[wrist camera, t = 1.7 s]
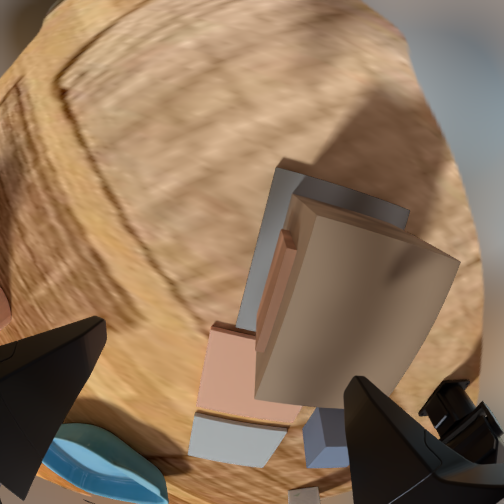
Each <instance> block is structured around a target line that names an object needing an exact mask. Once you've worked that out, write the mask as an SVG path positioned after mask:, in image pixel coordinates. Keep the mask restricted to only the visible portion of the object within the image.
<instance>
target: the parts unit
mask: <svg viewBox="0 0 504 504" xmlns="http://www.w3.org/2000/svg"><path fill="white" fill-rule="evenodd" d="M409 213H410V210H408V209H405V208H403V207H400V206H397V205H395V204H392V203H389V202H387V201H384V200H381V199H378V198H376V197H373V196H370V195H367V194H364V193H361V192H358V191H355V190H352V189H349V188H346V187H343V186H340V185H337V184H334V183H330V182H327V181H324V180H320V179H317V178H314V177H310V176H307V175H303V174H300V173H296V172H292V171H289V170H285V169H281V168H277V167H276V169H275V173H274V177H273V181H272V185H271V189H270V193H269V196H268V200H267V204H266V208H265V212H264V216H263V220H262V224H261V228H260V232H259V236H258V240H257V244H256V248H255V252H254V256H253V259H252V263H251V267H250V271H249V275H248V279H247V283H246V287H245V291H244V295H243V299H242V303H241V306H240V310H239V314H238V318H237V322H236V327H237V328H241V329H246V330H250V331H255V332H256V341H255V351H256V370H255V393H254V399H256V400H262V401H268V402H275V403H282V404H290V405H299V406H309V407H322V408H338V409H344V401H343V394H344V391H345V389H346V387H347V386H348V384H349V382H350V381H351V379H352V378H353V377H354V376H356V375H358V376H365V377H366V378H367V379H369V380H370V381H371V382H372V383H373V384H374V385H375V386H376V387H378V388H379V389H380V390H381V391H382V392H383V393H384V394H386V395H387V396H388V397H389V396H390V394H391V393H392V392H393V390H394V389H395V387H396V386H397V384H398V383H399V381H400V380H401V378H402V377H403V375H404V374H405V372H406V371H407V369H408V368H409V366H410V364H411V363H412V361H413V360H414V358H415V356H416V355H417V353H418V351H419V350H420V348H421V346H422V344H423V343H424V341H425V339H426V337H427V335H428V333H429V332H430V330H431V328H432V326H433V324H434V322H435V320H436V318H437V316H438V314H439V312H440V310H441V308H442V306H443V304H444V301H445V299H446V297H447V295H448V292H449V290H450V288H451V285H452V283H453V281H454V278H455V276H456V273H457V271H458V268H459V265H460V263H461V262H460V261H458V260H457V259H455V258H453V257H452V256H450V255H448V254H446V253H445V252H443V251H441V250H439V249H438V248H436V247H434V246H432V245H431V244H429V243H427V242H425V241H423V240H421V239H420V238H418V237H416V236H414V235H412V234H410V233H408V232H406V231H404V229H405V226H406V223H407V219H408V216H409Z"/></svg>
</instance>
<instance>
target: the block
mask: <svg viewBox="0 0 504 504" xmlns="http://www.w3.org/2000/svg"><path fill="white" fill-rule="evenodd" d="M302 430H303V439H304V448H305V457H306V466H307V468H337V467H347V466H348V465H349V456H348V449H347V442H346V435H345V425H344V409H338V408H322V407H316V409H315V411H314V412H313V414H312V415H311V417H310V418H309V420H308V421H307V423H306V424H305V426H304V427H303V429H302Z"/></svg>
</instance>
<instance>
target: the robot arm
mask: <svg viewBox="0 0 504 504" xmlns="http://www.w3.org/2000/svg"><path fill="white" fill-rule="evenodd" d="M106 340H107V332H106V321H105V320H104V319H103V318H100V317H98V316H92V317H89V318H86V319H83V320H80V321H77V322H74V323H71V324H68V325H65V326H62V327H59V328H55V329H52V330H49V331H46V332H43V333H40V334H37V335H34V336H30V337H27V338H24V339H21V340H18V341H15V342H11V343H8V344H5V345H1V346H0V486H1V484H2V485H4V486H5V487H6V488H7V489H8V490H10V491H11V492H12V493H14V494H15V495H16V496H18V497H19V498H20V499H22V500H23V501H24V500H25V498H26V496H27V493H28V491H29V489H30V486H31V484H32V482H33V480H34V478H35V476H36V474H37V471H38V469H39V467H40V465H41V463H42V461H43V459H44V457H45V455H46V453H47V451H48V449H49V447H50V445H51V443H52V441H53V439H54V437H55V435H56V434H57V432H58V430H59V428H60V426H61V424H62V423H63V421H64V419H65V417H66V415H67V414H68V412H69V410H70V408H71V407H72V405H73V403H74V402H75V400H76V398H77V397H78V395H79V393H80V391H81V390H82V388H83V387H84V385H85V383H86V382H87V380H88V378H89V377H90V375H91V373H92V371H93V369H94V367H95V364H96V362H97V360H98V358H99V356H100V354H101V352H102V350H103V348H104V346H105V344H106ZM469 383H470V381H469V380H454V381H444V382H442V383H441V384H440V386H439V387H438V389H437V390H436V391H435V393H434V394H433V395H432V397H431V398H430V399H429V401H428V402H427V403H426V404H425V406H424V407H423V408H422V409H421V411H420V412H419V413H418V414H419V416H428V417H429V418H430V420H431V422H432V424H433V426H434V428H435V429H436V430H437V432H438V434H439V436H440V439H439V440H438V439H437V438H436V437H435V436H433V435H432V434H431V433H430V432H429V431H427V430H426V429H424V427H423V426H421V425H420V424H419V423H418V422H417V421H416V420H414V419H413V418H412V417H411V416H410V415H409V414H407V413H406V412H405V411H404V410H403V409H402V408H401V407H399V406H398V405H397V404H396V403H395V402H394V401H392V400H391V399H390V398H389V397H388V396H387V395H386V394H384V393H383V392H382V391H381V390H380V389H379V388H378V387H376V386H375V385H374V384H373V383H372V382H371V381H370V380H369V379H367V378H366V377H365V376H358V375H356V376H354V377H353V378H352V379H351V381H350V382H349V384H348V386H347V387H346V389H345V391H344V394H343V401H344V425H345V435H346V442H347V449H348V456H349V464H350V472H351V481H352V490H353V500H354V504H504V443H503V441H502V439H501V437H500V436H501V435H502V434H503V433H504V432H503V430H502V428H501V426H500V424H499V423H498V421H497V419H496V417H495V416H494V414H493V413H492V412H491V410H490V409H489V407H488V406H487V405H486V404H485V403H484V402H483V401H482V402H481V403H480V404H479V405H478V406H477V407H475V405H474V404H473V402H472V401H471V399H470V398H469V396H468V395H467V393H466V392H465V389H466V387H467V386H468V385H469ZM486 415H487V417H485V416H486ZM0 504H2V502H1V500H0Z"/></svg>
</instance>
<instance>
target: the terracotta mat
mask: <svg viewBox="0 0 504 504" xmlns="http://www.w3.org/2000/svg"><path fill="white" fill-rule="evenodd" d="M255 341H256V336H253V335H248V334H244V333H239V332H235V331H230V330H226V329H222V328H218V327H214V326H212V327H211V330H210V335H209V340H208V345H207V350H206V356H205V361H204V366H203V371H202V377H201V382H200V387H199V393H198V398H197V404H196V406H197V407H201V408H205V409H210V410H214V411H219V412H223V413H228V414H234V415H239V416H245V417H251V418H257V419H264V420H271V421H280V422H289V423H293V422H294V420H295V418H296V417H297V415H298V413H299V412H300V410H301V408H302V406H299V405H290V404H282V403H275V402H268V401H262V400H256V399H254V393H255V370H256V351H255Z"/></svg>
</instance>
